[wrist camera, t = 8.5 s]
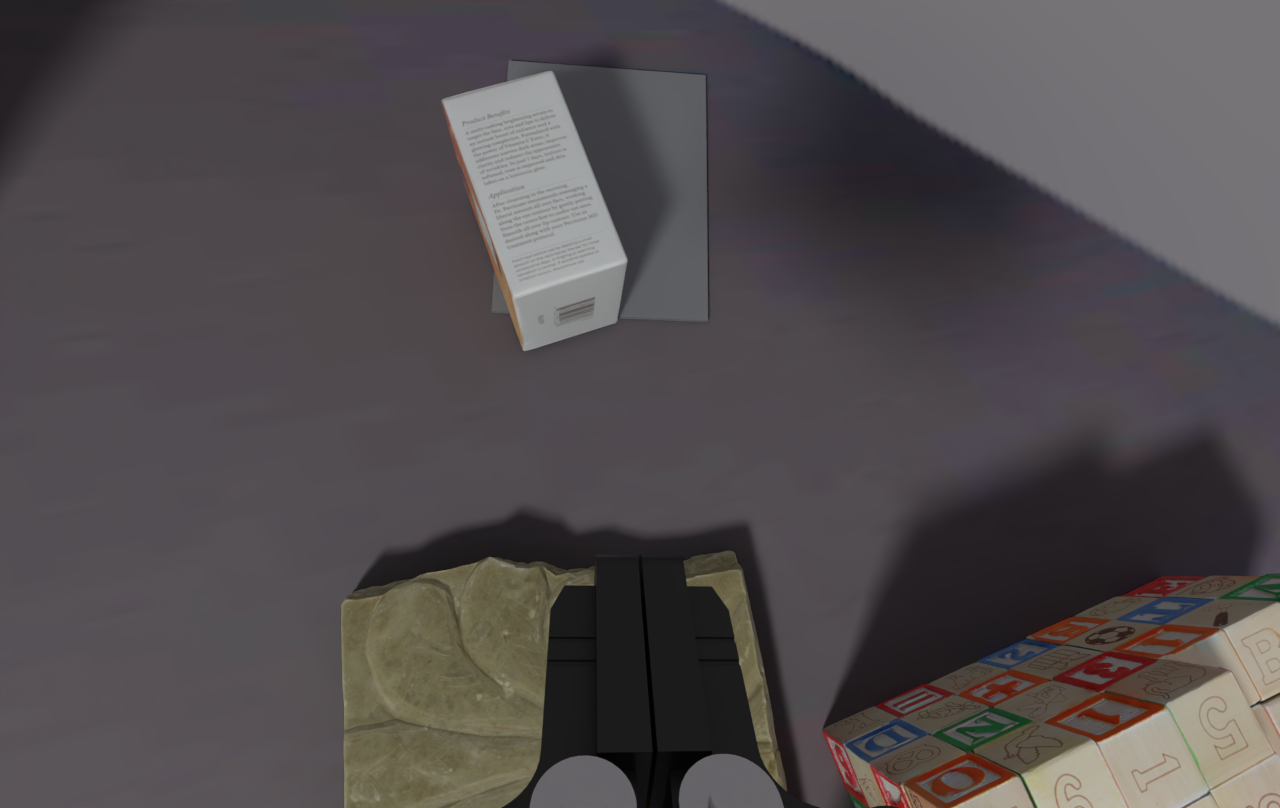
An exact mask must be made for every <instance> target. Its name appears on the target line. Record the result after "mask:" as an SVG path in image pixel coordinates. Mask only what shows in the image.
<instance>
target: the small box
mask: <svg viewBox="0 0 1280 808" xmlns="http://www.w3.org/2000/svg"><path fill="white" fill-rule="evenodd" d="M441 103H442V107H443V110H444V114H445V117H446V121H447V124H448V128H449V132H450V135H451V139H452V143H453V147H454V150H455V154H456V158H457V161H458V165H459V168H460V171H461V175H462V178H463V181H464V185H465V189H466V192H467V195H468V197H469V200H470V203H471V206H472V209H473V211H474V214H475V217H476V220H477V222H478V225H479V228H480V231H481V233H482V236H483V239H484V242H485V245H486V248H487V250H488V253H489V256H490V259H491V262H492V265H493V268H494V270H495V273H496V276H497V279H498V282H499V285H500V288H501V290H502V293H503V296H504V299H505V302H506V304H507V307H508V310H509V313H510V316H511V319H512V321H513V324H514V327H515V330H516V332H517V335H518V338H519V341H520V344H521V346H522V349H523V351H528V350H531V349H535V348H538V347H541V346H544V345H547V344H550V343H554V342H557V341H560V340H563V339H566V338H569V337H572V336H576V335H579V334H582V333H585V332H588V331H591V330H595V329H598V328H601V327H604V326H607V325H610V324H614V323H616V322H617V320H618V314H619V308H620V303H621V296H622V290H623V285H624V278H625V272H626V267H627V262H628V258H627V256H626V253H625V251H624V249H623V246H622V243H621V241H620V238H619V235H618V233H617V231H616V228H615V226H614V223H613V220H612V218H611V215H610V213H609V211H608V208H607V205H606V203H605V200H604V198H603V195H602V193H601V190H600V188H599V185H598V183H597V180H596V178H595V175H594V173H593V170H592V167H591V165H590V162H589V160H588V157H587V155H586V152H585V150H584V147H583V145H582V142H581V140H580V137H579V134H578V132H577V129H576V127H575V124H574V122H573V119H572V117H571V114H570V112H569V109H568V106H567V104H566V101H565V99H564V96H563V94H562V91H561V89H560V86H559V84H558V81H557V79H556V76H555V74H554V72H552V71H546V72H542V73H538V74H534V75H530V76H527V77H523V78H519V79H515V80H511V81H508V82H504V83H500V84H496V85H492V86H489V87H485V88H481V89H477V90H474V91H470V92H466V93H462V94H458V95H455V96H452V97H448V98H445V99H443V100H442V101H441Z"/></svg>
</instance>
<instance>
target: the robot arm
mask: <svg viewBox="0 0 1280 808" xmlns="http://www.w3.org/2000/svg"><path fill="white" fill-rule="evenodd" d="M734 638H735V637H734V632H733V627H732V623H731V618H730V613H729V610H728V608H727V607H726V605H725V604H724V603H723V601H722V600H721V598H720V597H719V596H718V594H717V593H716V591H715V590H714V589H713V587H712V586H687V582H686V575H685V569H684V562H683V558H682V556H681V555H640V556H639V562H638V557H637V555H605V554H596V556H595V573H594V586H587V585H564V587H563V589H562V590H561V592H560V594H559V595H558V597H557V599H556V600H555V602H554V604H553V606H552V607H551V609H550V622H549V638H548V652H547V667H546V682H545V696H544V711H543V726H542V741H541V753H540V760H539V763H538V766H537V769H536V771H535V773H534V775H533V778H532V779H531V781H530V782H529V784H528V785H527V787H526V788H525V789H524V790H523V791H522V792H521V793H520V794H519V795H518V796H517V797H516V798H515V799H513V800H512V801H511V802H510V803H508V804H506V805H505V806H503V807H502V808H819V807H816V806H813V805H810V804H808V803H805V802H803V801H801V800H799V799H797V798H796V797H794V796H792V795H791V794H790V793H788V792H787V791H786V790H784V789H783V788H782V787H781V786H780V785H779V784H778V783H777V782H776V781H775V779H774V778H773V777H772V776H771V775H770V773H769V772H768V770H767V768H766V767H765V765H764V763H763V761H762V758H761V756H760V752H759V749H758V745H757V740H756V735H755V731H754V726H753V721H752V717H751V712H750V707H749V702H748V698H747V693H746V688H745V684H744V679H743V674H742V670H741V665H739V655H738V651H737V646H736V642H735V641H734ZM872 808H898V807H895V806H886V805H885V806H875V807H872Z"/></svg>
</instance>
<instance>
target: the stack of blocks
mask: <svg viewBox="0 0 1280 808" xmlns="http://www.w3.org/2000/svg"><path fill="white" fill-rule="evenodd" d="M823 734H824V736H825V738H826V741H827V743H828V746H829V748H830V751H831V753H832V756H833V758H834V761H835V763H836V766H837V768H838V770H839V773H840V775H841V778H842V780H843V783H844V785H845V788H846V789H847V791H848V793H849V795H850V797H851V800H852V802H853V805H854V807H855V808H872V807H875V806H885V805H886V806H895V807H898V808H1280V574H1266V575H1264V576H1209V577H1200V576H1162V577H1160V578H1158V579H1156V580H1154V581H1152V582H1150V583H1148V584H1146V585H1143V586H1141V587H1139V588H1137V589H1135V590H1133V591H1130V592H1129V593H1127V594H1124V595H1122V596H1116V597H1114V598H1111V599H1109V600H1107V601H1105V602H1103V603H1100V604H1098V605H1096V606H1094V607H1092V608H1089V609H1087V610H1085V611H1083V612H1081V613H1079V614H1077V615H1075V616H1074V617H1070V618H1067V619H1065V620H1062V621H1060V622H1058V623H1056V624H1054V625H1051V626H1049V627H1047V628H1045V629H1042V630H1040V631H1038V632H1036V633H1034V634H1031V635H1029V636H1027V637H1026V639H1025V640H1022V641H1020V642H1017V643H1015V644H1013V645H1011V646H1009V647H1007V648H1004V649H1002V650H1000V651H998V652H996V653H993V654H991V655H989V656H987V657H984V658H982V659H980V660H979V661H977V662H976V663H973V664H970V665H968V666H966V667H963V668H961V669H959V670H957V671H955V672H952V673H950V674H948V675H946V676H944V677H942V678H939V679H937V680H935V681H933V682H931V683H929V684H923V685H921V686H918V687H916V688H913V689H911V690H909V691H907V692H905V693H903V694H900V695H898V696H896V697H893V698H891V699H889V700H887V701H885V702H882V703H880V704H878V705H876V706H874V707H870V708H868V709H865V710H863V711H861V712H859V713H856V714H854V715H852V716H850V717H847V718H845V719H843V720H841V721H839V722H836V723H834V724H832V725H830V726H827V727H825V728H824V729H823Z"/></svg>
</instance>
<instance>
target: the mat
mask: <svg viewBox="0 0 1280 808" xmlns="http://www.w3.org/2000/svg"><path fill="white" fill-rule="evenodd" d="M546 71H552V72H554V74H555V76H556V79H557V81H558V84H559V86H560V89H561V91H562V94H563V96H564V99H565V101H566V104H567V106H568V109H569V112H570V114H571V117H572V119H573V122H574V124H575V127H576V129H577V132H578V134H579V137H580V140H581V142H582V145H583V147H584V150H585V152H586V155H587V157H588V160H589V162H590V165H591V167H592V170H593V173H594V175H595V178H596V180H597V183H598V185H599V188H600V190H601V193H602V195H603V198H604V200H605V203H606V205H607V208H608V211H609V213H610V215H611V218H612V220H613V223H614V226H615V228H616V231H617V233H618V235H619V238H620V241H621V243H622V246H623V249H624V251H625V253H626V256H627V258H628V262H627V267H626V272H625V278H624V285H623V290H622V296H621V303H620V308H619V314H618V318H620V319H642V320H665V321H687V322H708V247H707V141H706V75H698V74H685V73H671V72H658V71H644V70H631V69H617V68H604V67H590V66H577V65H563V64H550V63H537V62H523V61H510V60H509V62H508V77H507V82H508V81H511V80H515V79H519V78H523V77H527V76H530V75H534V74H538V73H542V72H546ZM492 313H507V314H510V313H509V310H508V307H507V304H506V302H505V299H504V296H503V293H502V290H501V288H500V285H499V282H498V279H497V276H496V273H495V270H494V283H493V298H492Z"/></svg>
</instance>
